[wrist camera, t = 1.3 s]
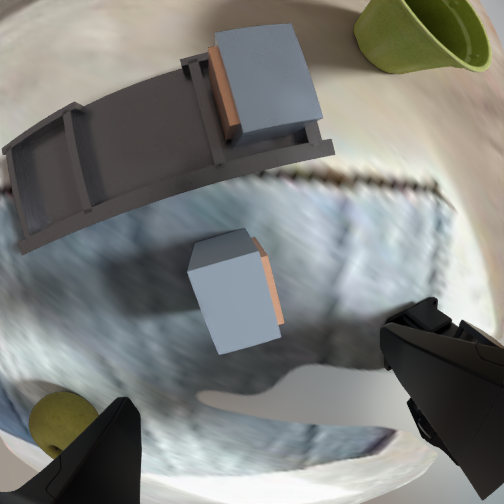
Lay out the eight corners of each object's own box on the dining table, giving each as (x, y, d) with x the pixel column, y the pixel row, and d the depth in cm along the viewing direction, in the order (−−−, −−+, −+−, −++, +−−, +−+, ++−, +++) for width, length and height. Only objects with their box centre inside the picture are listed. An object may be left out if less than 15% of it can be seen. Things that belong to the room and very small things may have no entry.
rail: (319, 157, 18) (374, 149, 11) (40, 246, 17) (-17, 276, 10) (289, 55, 16) (325, 5, 9) (18, 152, 14) (-43, 151, 7)
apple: (36, 374, 19) (7, 418, 13) (95, 381, 20) (71, 435, 14) (65, 423, 21) (47, 465, 15) (122, 430, 22) (110, 481, 16)
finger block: (267, 291, 20) (288, 335, 14) (216, 306, 20) (218, 355, 14) (250, 226, 19) (267, 248, 13) (195, 242, 18) (187, 271, 13)
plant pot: (407, 115, 18) (485, 100, 10) (314, 43, 16) (369, -16, 7) (432, 51, 16) (493, 29, 8) (355, -11, 14) (403, -57, 6)
